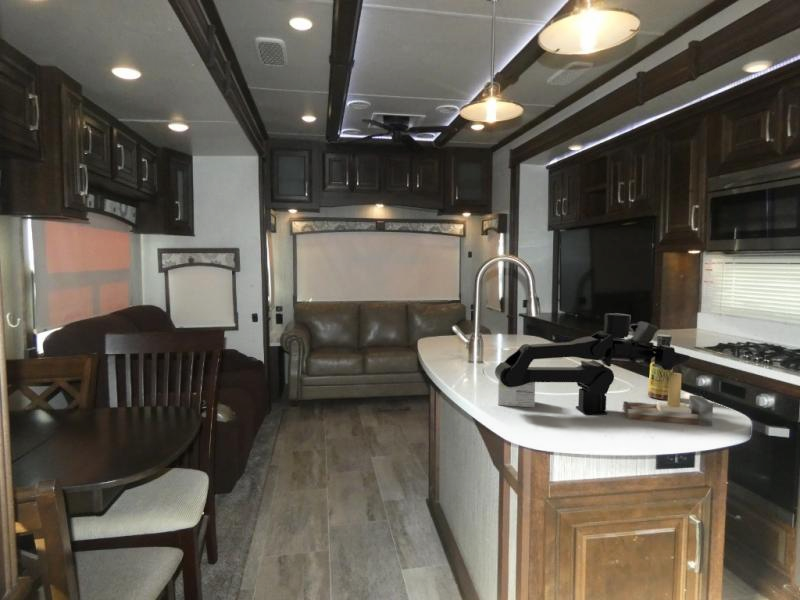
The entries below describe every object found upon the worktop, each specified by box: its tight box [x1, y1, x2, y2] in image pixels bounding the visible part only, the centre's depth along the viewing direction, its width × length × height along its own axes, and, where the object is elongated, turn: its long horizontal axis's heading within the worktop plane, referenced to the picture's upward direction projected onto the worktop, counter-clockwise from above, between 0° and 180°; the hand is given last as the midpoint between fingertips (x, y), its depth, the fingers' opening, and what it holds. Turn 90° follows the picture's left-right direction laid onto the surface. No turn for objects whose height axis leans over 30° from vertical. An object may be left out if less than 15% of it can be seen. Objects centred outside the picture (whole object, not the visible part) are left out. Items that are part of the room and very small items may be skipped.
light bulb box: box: [497, 379, 536, 408], centre depth 146 cm, size 11×7×11 cm, turn 77°
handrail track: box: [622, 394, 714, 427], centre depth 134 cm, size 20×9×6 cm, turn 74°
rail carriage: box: [656, 371, 691, 414], centre depth 133 cm, size 7×6×11 cm
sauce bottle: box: [647, 334, 674, 400], centre depth 152 cm, size 7×6×20 cm
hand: (678, 354), depth 139 cm, fingers open, 9 cm apart
